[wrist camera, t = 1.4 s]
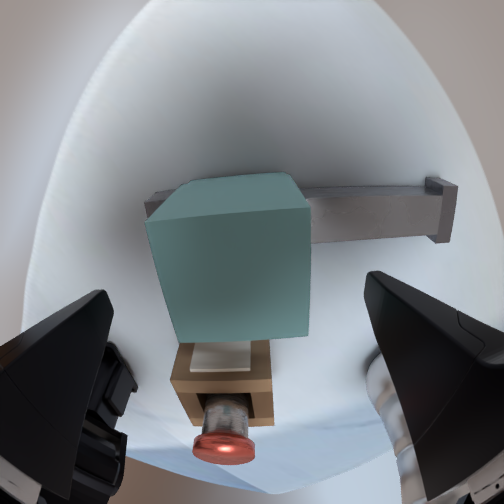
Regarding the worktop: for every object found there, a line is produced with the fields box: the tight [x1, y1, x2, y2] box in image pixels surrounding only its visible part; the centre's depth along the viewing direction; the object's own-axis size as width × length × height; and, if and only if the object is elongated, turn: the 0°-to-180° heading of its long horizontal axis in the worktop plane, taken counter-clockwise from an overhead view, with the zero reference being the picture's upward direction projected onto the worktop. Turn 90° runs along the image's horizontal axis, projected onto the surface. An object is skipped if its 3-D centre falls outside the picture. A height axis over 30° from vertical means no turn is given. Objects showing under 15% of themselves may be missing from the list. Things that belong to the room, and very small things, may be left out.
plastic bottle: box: [366, 353, 470, 504], centre depth 13 cm, size 6×7×20 cm
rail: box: [144, 177, 458, 244], centre depth 15 cm, size 17×4×2 cm, turn 95°
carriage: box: [145, 172, 311, 343], centre depth 12 cm, size 5×5×7 cm
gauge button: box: [192, 393, 255, 465], centre depth 15 cm, size 4×4×6 cm
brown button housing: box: [170, 339, 274, 427], centre depth 18 cm, size 6×6×5 cm
